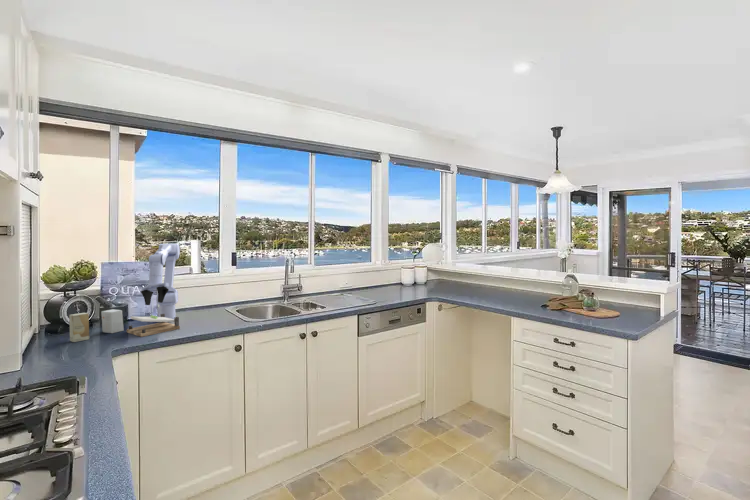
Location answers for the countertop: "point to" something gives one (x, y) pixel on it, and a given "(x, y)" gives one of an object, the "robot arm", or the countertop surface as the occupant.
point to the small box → (112, 321)
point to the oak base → (154, 328)
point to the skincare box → (79, 327)
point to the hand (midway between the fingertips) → (153, 303)
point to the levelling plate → (153, 319)
